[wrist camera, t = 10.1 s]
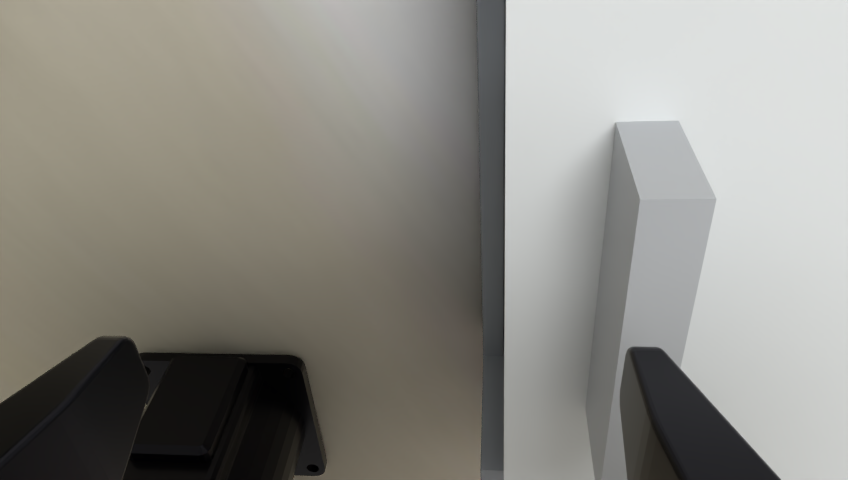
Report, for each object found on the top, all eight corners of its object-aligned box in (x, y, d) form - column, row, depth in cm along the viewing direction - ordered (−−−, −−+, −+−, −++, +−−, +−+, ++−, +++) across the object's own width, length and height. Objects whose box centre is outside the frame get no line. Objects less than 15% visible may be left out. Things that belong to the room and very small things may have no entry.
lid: (993, 478, 16) (1079, 605, 14) (503, 461, 18) (504, 575, 15) (1387, -107, 9) (1710, -53, 7) (506, -63, 10) (507, -5, 8)
